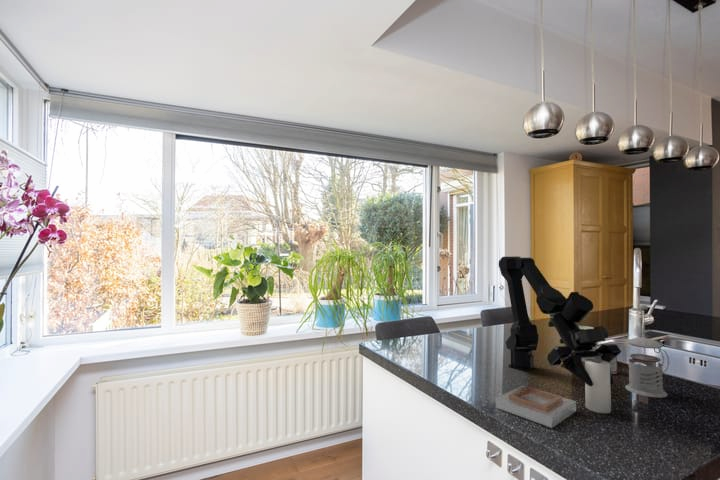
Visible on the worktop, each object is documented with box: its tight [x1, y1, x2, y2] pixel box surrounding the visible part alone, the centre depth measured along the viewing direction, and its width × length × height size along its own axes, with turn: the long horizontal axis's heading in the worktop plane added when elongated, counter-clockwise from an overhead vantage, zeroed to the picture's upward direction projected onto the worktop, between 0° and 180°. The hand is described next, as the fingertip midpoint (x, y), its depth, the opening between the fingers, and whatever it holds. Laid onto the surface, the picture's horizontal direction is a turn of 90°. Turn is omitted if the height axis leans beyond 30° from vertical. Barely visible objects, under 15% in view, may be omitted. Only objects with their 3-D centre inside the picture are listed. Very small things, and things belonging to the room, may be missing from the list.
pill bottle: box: [610, 355, 618, 375], centre depth 122 cm, size 5×5×8 cm
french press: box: [624, 304, 670, 399], centre depth 106 cm, size 10×12×25 cm
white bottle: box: [584, 356, 612, 414], centre depth 94 cm, size 6×6×13 cm
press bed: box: [495, 385, 577, 429], centre depth 93 cm, size 14×14×4 cm
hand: (601, 384), depth 93 cm, fingers open, 6 cm apart
